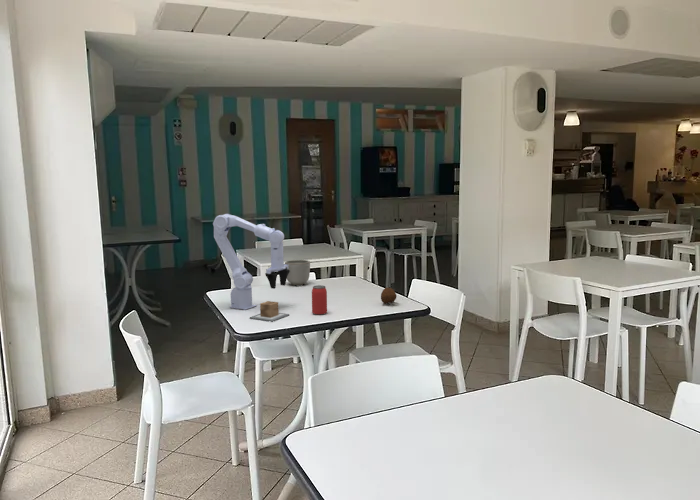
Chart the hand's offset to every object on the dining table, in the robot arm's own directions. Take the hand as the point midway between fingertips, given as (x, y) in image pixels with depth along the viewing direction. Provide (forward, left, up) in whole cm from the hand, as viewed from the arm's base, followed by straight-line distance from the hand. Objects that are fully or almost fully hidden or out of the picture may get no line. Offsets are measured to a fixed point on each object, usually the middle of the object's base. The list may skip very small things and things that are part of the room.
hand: (278, 286), depth 251 cm
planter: (-22, +49, -10) cm, 55 cm away
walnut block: (+6, -15, -9) cm, 19 cm away
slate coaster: (+6, -15, -10) cm, 19 cm away
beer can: (+22, 0, -10) cm, 24 cm away
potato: (+42, +29, -10) cm, 52 cm away
